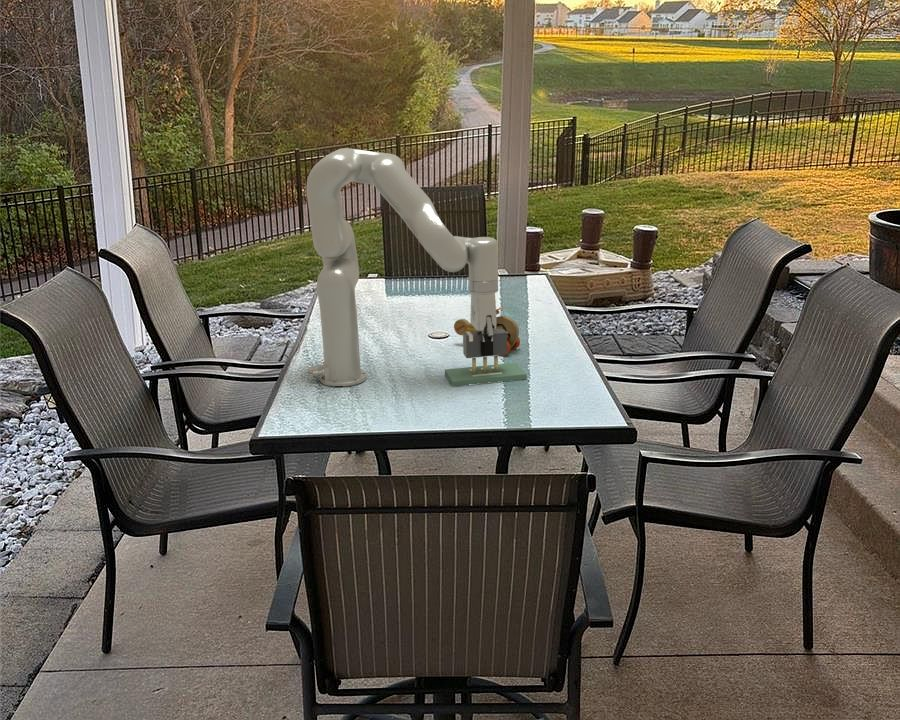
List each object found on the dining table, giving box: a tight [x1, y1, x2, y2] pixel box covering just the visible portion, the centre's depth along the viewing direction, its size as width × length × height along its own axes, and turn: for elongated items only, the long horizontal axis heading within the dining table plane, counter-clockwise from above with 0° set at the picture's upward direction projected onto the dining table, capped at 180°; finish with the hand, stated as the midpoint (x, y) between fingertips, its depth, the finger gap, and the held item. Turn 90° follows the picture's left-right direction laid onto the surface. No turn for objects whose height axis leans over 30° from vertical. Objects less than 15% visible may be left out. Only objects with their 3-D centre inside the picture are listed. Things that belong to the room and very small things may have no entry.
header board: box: [444, 355, 528, 388], centre depth 233 cm, size 20×10×6 cm, turn 102°
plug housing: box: [462, 329, 508, 359], centre depth 231 cm, size 11×4×6 cm, turn 102°
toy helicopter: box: [453, 306, 521, 357], centre depth 255 cm, size 8×21×14 cm, turn 60°
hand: (484, 352), depth 231 cm, fingers closed on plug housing, 3 cm apart
